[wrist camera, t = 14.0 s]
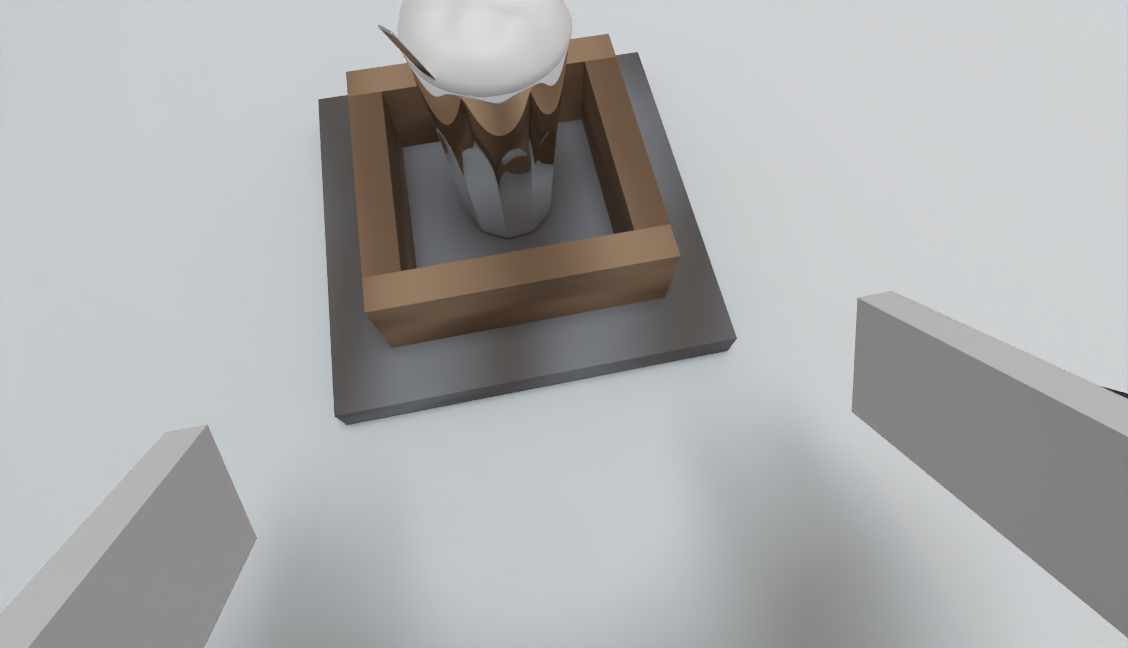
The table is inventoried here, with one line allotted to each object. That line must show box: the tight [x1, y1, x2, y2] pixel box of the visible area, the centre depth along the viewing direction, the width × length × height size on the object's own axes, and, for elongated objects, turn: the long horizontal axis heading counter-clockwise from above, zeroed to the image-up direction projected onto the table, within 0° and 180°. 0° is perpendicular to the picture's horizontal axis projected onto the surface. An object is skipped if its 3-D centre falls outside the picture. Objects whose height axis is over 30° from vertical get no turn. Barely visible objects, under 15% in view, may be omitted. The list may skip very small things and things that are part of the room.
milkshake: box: [378, 0, 572, 239], centre depth 18 cm, size 4×5×10 cm
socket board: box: [319, 34, 737, 425], centre depth 22 cm, size 14×14×4 cm
